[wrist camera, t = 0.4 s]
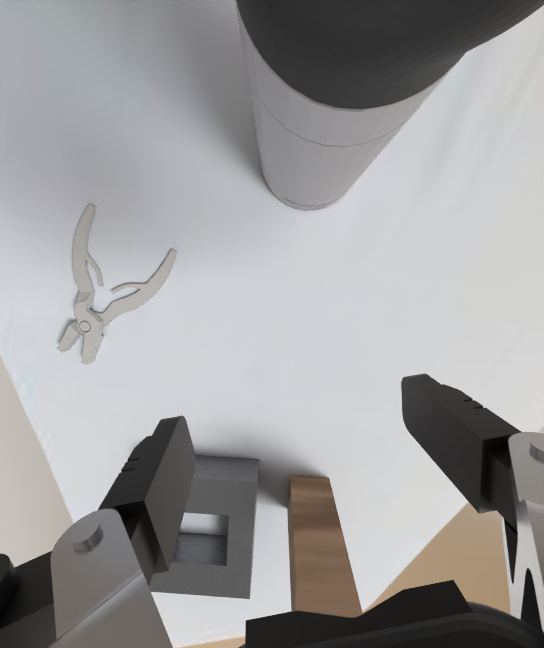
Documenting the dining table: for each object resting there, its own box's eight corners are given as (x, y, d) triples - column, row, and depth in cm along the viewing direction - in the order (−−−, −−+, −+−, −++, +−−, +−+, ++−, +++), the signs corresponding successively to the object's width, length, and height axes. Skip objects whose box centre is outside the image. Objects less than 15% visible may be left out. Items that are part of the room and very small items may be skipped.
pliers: (175, 252, 27) (114, 379, 30) (180, 253, 29) (122, 374, 31) (81, 199, 27) (26, 335, 29) (92, 203, 28) (39, 331, 31)
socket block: (155, 452, 33) (141, 473, 29) (258, 459, 32) (256, 482, 29) (156, 559, 35) (143, 590, 32) (252, 567, 35) (249, 599, 32)
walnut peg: (290, 475, 33) (299, 623, 19) (328, 478, 33) (366, 628, 19) (287, 508, 34) (294, 673, 20) (325, 511, 34) (358, 678, 20)
